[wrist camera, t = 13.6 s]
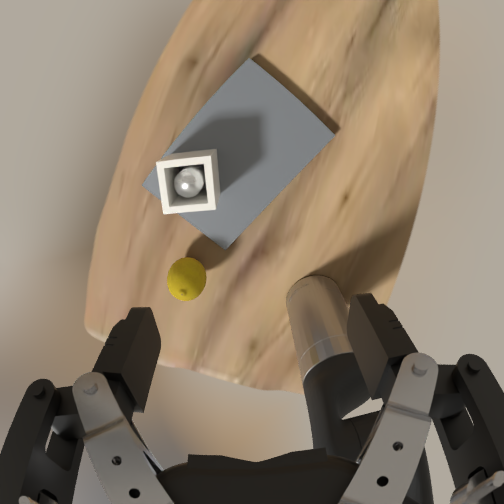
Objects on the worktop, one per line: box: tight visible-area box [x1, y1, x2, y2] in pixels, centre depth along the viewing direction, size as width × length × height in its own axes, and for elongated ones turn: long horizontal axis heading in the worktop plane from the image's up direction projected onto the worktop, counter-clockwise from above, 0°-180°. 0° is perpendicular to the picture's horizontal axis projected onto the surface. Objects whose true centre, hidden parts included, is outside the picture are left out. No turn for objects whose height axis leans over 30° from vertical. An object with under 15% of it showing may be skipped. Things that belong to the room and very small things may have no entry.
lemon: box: [167, 257, 206, 301], centre depth 41 cm, size 6×6×8 cm
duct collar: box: [156, 149, 221, 214], centre depth 33 cm, size 6×6×7 cm
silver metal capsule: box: [174, 164, 206, 198], centre depth 34 cm, size 3×3×6 cm
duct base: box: [142, 58, 335, 250], centre depth 36 cm, size 15×22×2 cm
